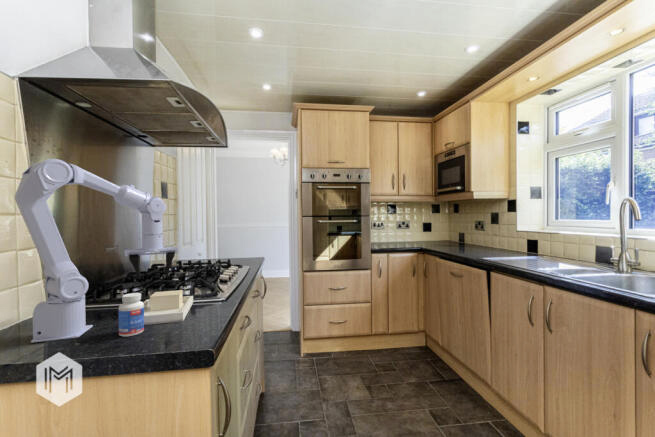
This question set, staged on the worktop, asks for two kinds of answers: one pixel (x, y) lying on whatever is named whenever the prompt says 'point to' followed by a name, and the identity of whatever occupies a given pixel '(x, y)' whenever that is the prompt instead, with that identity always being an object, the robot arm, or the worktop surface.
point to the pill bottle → (131, 315)
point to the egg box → (166, 300)
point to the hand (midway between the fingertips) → (153, 277)
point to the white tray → (167, 313)
